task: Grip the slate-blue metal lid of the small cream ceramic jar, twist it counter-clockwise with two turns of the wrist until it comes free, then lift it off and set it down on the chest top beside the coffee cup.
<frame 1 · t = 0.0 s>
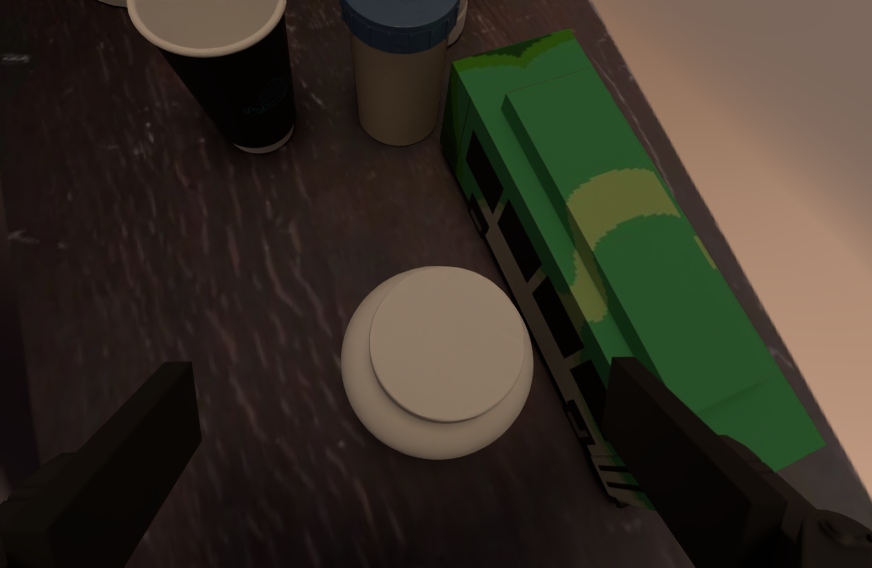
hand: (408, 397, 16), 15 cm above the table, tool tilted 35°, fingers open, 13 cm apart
spice jar: (398, 112, 37), on the table
dixie cup: (260, 126, 36), on the table
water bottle: (436, 19, 41), on the table
toy bus: (564, 289, 34), on the table
pill bottle: (422, 389, 31), on the table
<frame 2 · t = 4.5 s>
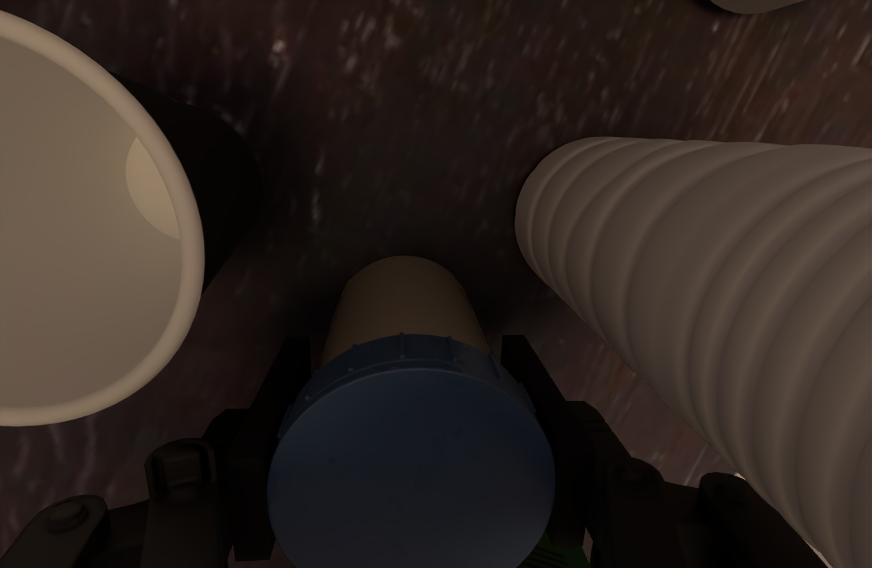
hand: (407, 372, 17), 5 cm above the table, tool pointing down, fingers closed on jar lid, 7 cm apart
spice jar: (404, 321, 22), on the table
dixie cup: (199, 179, 20), on the table
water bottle: (608, 223, 22), on the table
jar lid: (414, 487, 12), point 11 cm above the table, screwed on, not yet turned, touching gripper
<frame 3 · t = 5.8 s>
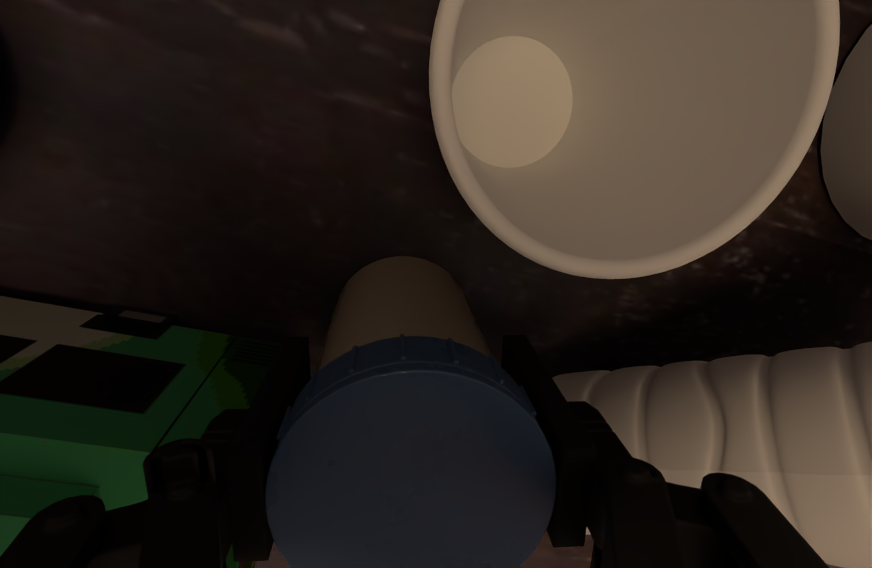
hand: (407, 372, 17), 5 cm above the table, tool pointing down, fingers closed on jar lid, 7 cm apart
spice jar: (402, 321, 22), on the table
dixie cup: (507, 105, 20), on the table
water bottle: (560, 476, 21), point 3 cm above the table, touching cup
jar lid: (413, 490, 12), point 11 cm above the table, turned 78° so far, risen 0.2 cm, still on its thread, touching gripper
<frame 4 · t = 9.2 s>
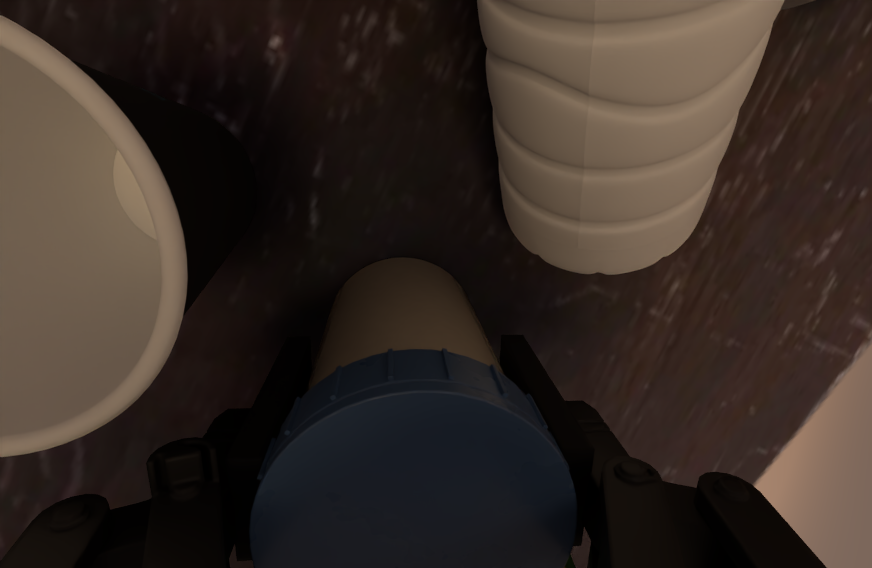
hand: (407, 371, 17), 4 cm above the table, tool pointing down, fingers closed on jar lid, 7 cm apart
spice jar: (402, 326, 21), on the table
dixie cup: (191, 182, 19), on the table
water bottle: (624, 218, 17), point 3 cm above the table, touching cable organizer, cup
jar lid: (417, 522, 10), point 11 cm above the table, turned 85° so far, risen 0.2 cm, still on its thread, touching gripper
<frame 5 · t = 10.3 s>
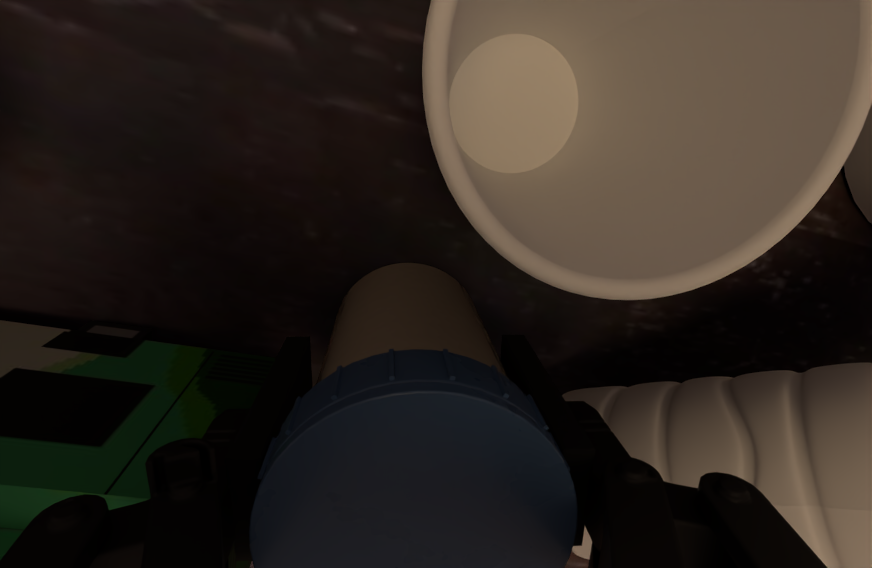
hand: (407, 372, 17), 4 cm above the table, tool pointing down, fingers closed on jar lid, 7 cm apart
spice jar: (407, 331, 21), on the table
dixie cup: (509, 107, 19), on the table
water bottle: (574, 498, 20), point 3 cm above the table, touching cup
jar lid: (417, 523, 10), point 11 cm above the table, off its thread, touching gripper
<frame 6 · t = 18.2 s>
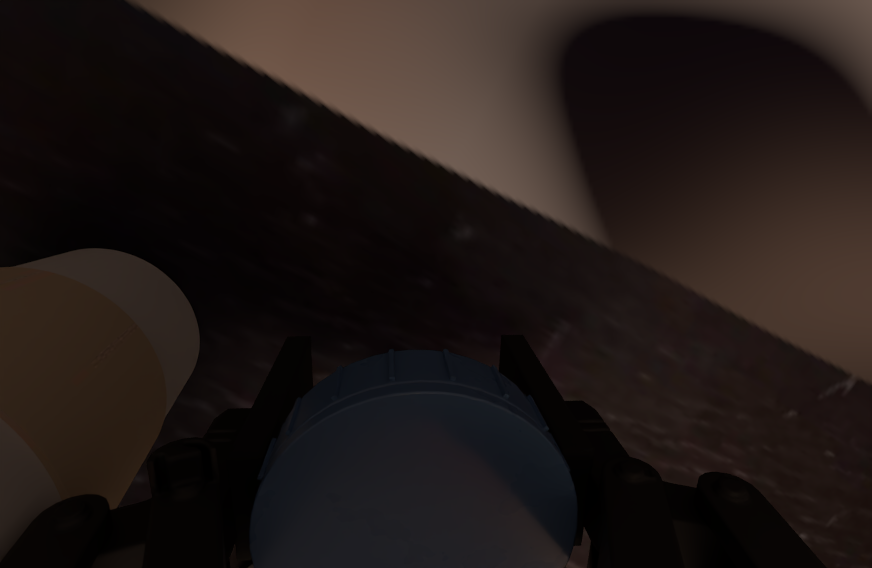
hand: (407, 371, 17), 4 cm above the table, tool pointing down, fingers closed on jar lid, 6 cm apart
coffee cup: (113, 331, 20), on the table
jar lid: (417, 523, 10), point 11 cm above the table, off its thread, touching gripper
when the fingers open (1 cm above the table, at t = 19.6 s): jar lid drops 7 cm, point 1 cm above the table.
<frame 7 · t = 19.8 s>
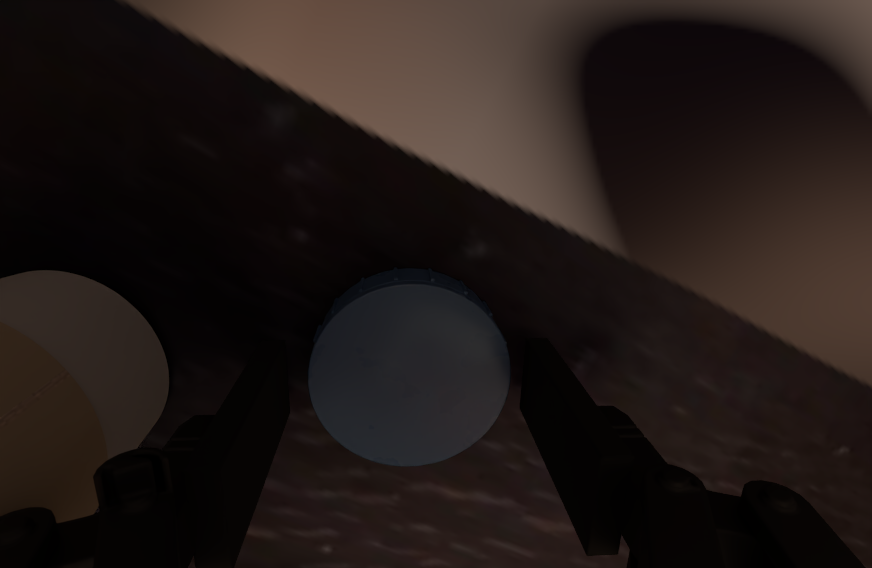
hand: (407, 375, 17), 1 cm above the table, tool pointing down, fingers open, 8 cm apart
coffee cup: (71, 365, 17), on the table, touching gripper, hand
jar lid: (410, 375, 17), point 1 cm above the table, off its thread
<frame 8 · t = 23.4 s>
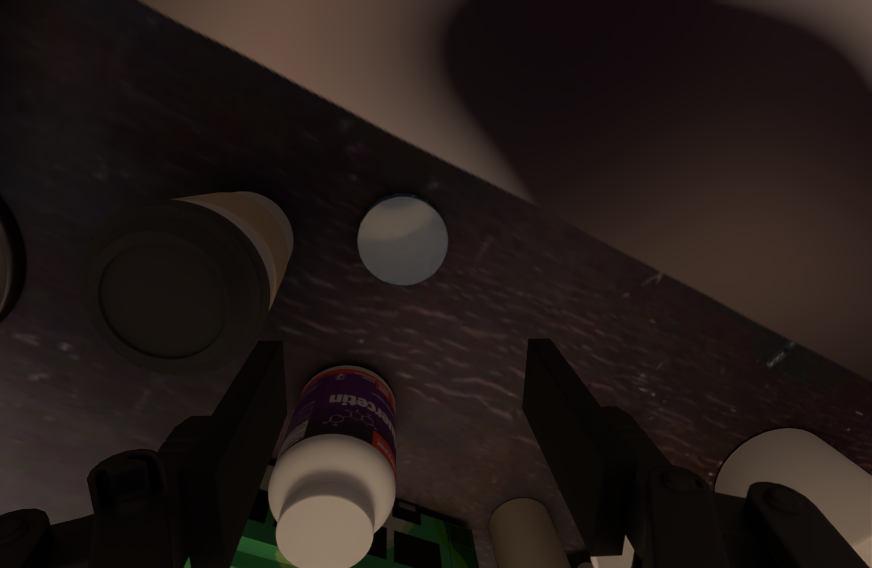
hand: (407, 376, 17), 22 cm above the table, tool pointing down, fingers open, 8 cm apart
spice jar: (519, 523, 47), on the table
coffee cup: (248, 237, 37), on the table
dixie cup: (587, 449, 46), on the table
cup: (770, 478, 48), on the table, touching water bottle
toy bus: (322, 511, 45), on the table
jar lid: (403, 241, 37), point 1 cm above the table, off its thread
pill bottle: (348, 402, 42), on the table
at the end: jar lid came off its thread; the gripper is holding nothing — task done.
